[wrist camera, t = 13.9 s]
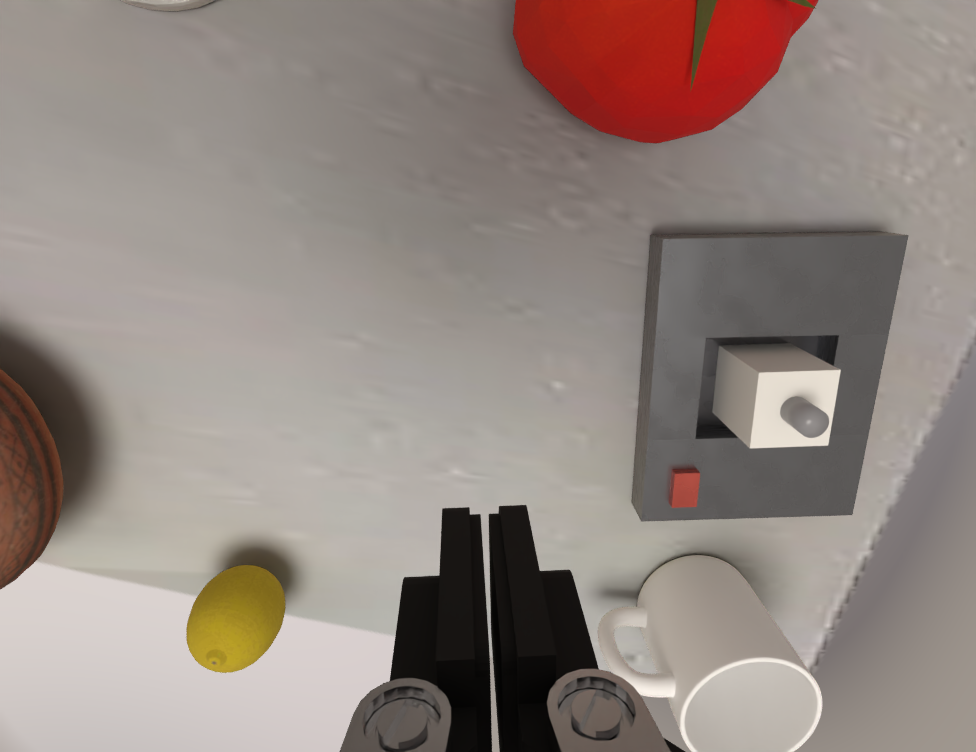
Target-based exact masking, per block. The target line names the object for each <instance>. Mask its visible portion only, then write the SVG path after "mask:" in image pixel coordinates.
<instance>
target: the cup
mask: <svg viewBox="0 0 976 752" xmlns="http://www.w3.org/2000/svg"><path fill="white" fill-rule="evenodd" d="M621 626H636V627H640V628H641V631H642V634H643V637H644V639H645V642H646V644H647V647H648V650H649V652H650V655H651V657H652V660H653V662H654V665H655V668H656V670H657V673H658V674H644V673H640V672H637V671H635V670H634V669H632V668H631V667H630V666H629V665H628V664H627V663H626V661H625V660H624V659H623V657H622V656H621V654H620V652H619V650H618V648H617V645H616V642H615V639H614V630H615V629H616V628H617V627H621ZM598 641H599V646H600V649H601V652H602V655H603V657H604V659H605V661H606V663H607V665H608V667H609V668H610V670H611V672H612V673H613V674H615V675H617V676H620V677H622V678H623V679H625V680H626V681H627V682H628V683H630V684H631V685H632V686H633V687H634V688H635V689H636V690H637V692H638V693H639V694H640V695H643V696H649V697H667V699H668V701H669V704H670V706H671V709H672V712H673V714H674V717H675V719H676V722H677V725H678V727H679V730H680V732H681V735H682V737H683V740H684V741H685V743H686V745H687V746H688V748H689V749H690V750H691V751H692V752H794V751H795V750H796V749H798V748H799V747H800V746H801V745H802V744H803V743H804V742H805V741H806V740H807V739H808V738H809V737H810V736H811V734H812V733H813V731H814V730H815V728H816V726H817V724H818V722H819V719H820V716H821V712H822V695H821V691H820V688H819V686H818V684H817V682H816V681H815V679H814V678H813V676H812V675H811V673H810V672H809V670H808V669H807V668H806V666H805V665H804V663H803V662H802V660H801V659H800V657H799V656H798V655H797V653H796V652H795V650H794V649H793V647H792V646H791V644H790V643H789V641H788V640H787V639H786V637H785V636H784V634H783V633H782V631H781V630H780V628H779V627H778V626H777V624H776V623H775V621H774V620H773V618H772V617H771V615H770V614H769V613H768V611H767V610H766V608H765V607H764V605H763V604H762V602H761V601H760V600H759V598H758V597H757V595H756V594H755V592H754V591H753V589H752V588H751V586H750V585H749V584H748V582H747V581H746V580H745V578H744V577H743V576H742V575H741V574H740V572H739V571H737V570H736V569H735V568H734V567H733V566H731V565H730V564H728V563H727V562H725V561H723V560H720V559H718V558H715V557H710V556H703V555H691V556H684V557H680V558H677V559H674V560H672V561H670V562H667V563H666V564H664V565H662V566H661V567H659V568H658V569H657V570H656V571H654V572H653V573H652V574H651V575H650V577H649V578H648V579H647V580H646V582H645V583H644V585H643V587H642V589H641V591H640V594H639V597H638V602H637V607H622V608H617V609H614V610H611V611H609V612H608V613H606V614H605V615H604V616H603V617H602V619H601V621H600V623H599V626H598Z"/></svg>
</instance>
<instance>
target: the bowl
mask: <svg viewBox="0 0 976 752" xmlns="http://www.w3.org/2000/svg"><path fill="white" fill-rule="evenodd" d="M62 499H63V477H62V470H61V463H60V459H59V455H58V452H57V448H56V445H55V442H54V439H53V437H52V435H51V433H50V431H49V429H48V427H47V425H46V423H45V421H44V419H43V417H42V415H41V413H40V412H39V410H38V409H37V407H36V405H35V404H34V402H33V401H32V400H31V398H30V397H29V396H28V395H27V394H26V392H25V391H24V390H23V389H22V388H21V386H20V385H19V384H17V383H16V382H15V381H14V380H13V379H11V378H10V377H9V376H8V375H7V374H6V373H5V372H4V371H3V370H1V369H0V589H2V588H3V587H5V586H6V585H8V584H9V583H11V582H13V581H14V580H16V579H17V578H18V577H19V576H20V575H21V574H22V573H23V572H24V571H25V570H26V569H27V568H29V567H30V566H31V565H32V564H33V563H34V562H35V561H36V560H37V559H38V558H39V557H40V556H41V554H42V553H43V551H44V550H45V548H46V546H47V544H48V543H49V541H50V539H51V536H52V534H53V532H54V530H55V528H56V525H57V522H58V519H59V515H60V509H61V504H62Z"/></svg>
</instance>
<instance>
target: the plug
mask: <svg viewBox="0 0 976 752" xmlns="http://www.w3.org/2000/svg"><path fill="white" fill-rule="evenodd" d="M840 372H841V370H840V369H838V368H836V367H834V366H832V365H830V364H829V363H827V362H825V361H823V360H821V359H819V358H817V357H815V356H813V355H811V354H809V353H808V352H806V351H804V350H802V349H800V348H798V347H796V346H794V345H792V344H790V343H781V344H750V345H719V350H718V360H717V370H716V381H715V391H714V401H713V411H712V413H714V414H715V415H716V416H717V417H718V418H719V419H720V420H721V421H722V422H723V423H724V424H725V425H726V426H727V427H728V428H729V429H730V430H731V431H732V432H733V433H734V434H735V435H736V436H737V437H738V438H739V439H740V440H742V441H743V442H744V443H745V444H746V445H747V446H748V447H749V448H776V447H803V446H828V444H829V438H830V432H831V426H832V420H833V414H834V408H835V402H836V396H837V390H838V384H839V378H840Z"/></svg>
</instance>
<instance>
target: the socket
mask: <svg viewBox="0 0 976 752" xmlns="http://www.w3.org/2000/svg"><path fill="white" fill-rule="evenodd" d="M907 240H908V235H902V234H895V233H888V232H814V233H746V234H679V235H651V237H650V251H649V265H648V279H647V293H646V308H645V322H644V336H643V350H642V364H641V378H640V392H639V406H638V420H637V434H636V448H635V462H634V476H633V491H632V504H633V506H634V508H635V510H636V512H637V514H638V516H639V518H640V520H641V521H669V520H703V519H736V518H769V517H802V516H835V515H852V514H853V509H854V504H855V499H856V494H857V489H858V484H859V479H860V474H861V469H862V464H863V459H864V454H865V449H866V444H867V439H868V434H869V429H870V424H871V419H872V414H873V409H874V404H875V399H876V394H877V389H878V384H879V379H880V374H881V369H882V364H883V359H884V354H885V349H886V344H887V339H888V334H889V329H890V324H891V319H892V314H893V309H894V304H895V300H896V295H897V290H898V285H899V280H900V275H901V270H902V265H903V260H904V255H905V250H906V245H907ZM781 343H790V344H792V345H794V346H796V347H798V348H800V349H802V350H804V351H806V352H808V353H809V354H811V355H813V356H815V357H817V358H819V359H821V360H823V361H825V362H827V363H829V364H830V365H832V366H834V367H836V368H838V369H840V370H841V372H840V378H839V384H838V390H837V396H836V402H835V408H834V414H833V420H832V426H831V432H830V438H829V444H828V446H803V447H776V448H749V447H748V446H747V445H746V444H745V443H744V442H743V441H742V440H740V439H739V438H738V437H737V436H736V435H735V434H734V433H733V432H732V431H731V430H730V429H729V428H728V427H727V426H726V425H725V424H724V423H723V422H722V421H721V420H720V419H719V418H718V417H717V416H716V415H715V414H714V413H712V411H713V401H714V391H715V381H716V370H717V360H718V350H719V345H750V344H781Z"/></svg>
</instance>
